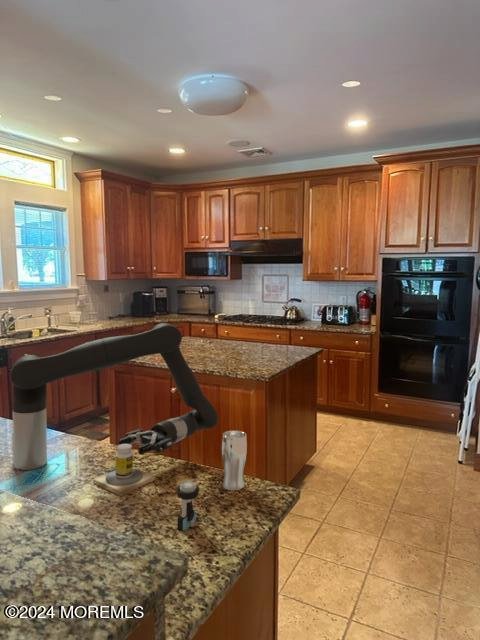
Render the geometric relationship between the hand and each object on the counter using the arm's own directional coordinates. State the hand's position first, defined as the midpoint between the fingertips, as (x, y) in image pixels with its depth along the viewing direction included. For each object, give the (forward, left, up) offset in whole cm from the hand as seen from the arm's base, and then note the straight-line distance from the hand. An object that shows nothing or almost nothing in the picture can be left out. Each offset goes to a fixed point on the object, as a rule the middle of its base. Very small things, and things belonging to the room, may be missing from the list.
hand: (129, 447), depth 125 cm
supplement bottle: (0, -2, -8) cm, 8 cm away
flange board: (0, -2, -9) cm, 10 cm away
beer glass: (+26, +15, -10) cm, 32 cm away
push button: (+29, -7, -10) cm, 31 cm away
